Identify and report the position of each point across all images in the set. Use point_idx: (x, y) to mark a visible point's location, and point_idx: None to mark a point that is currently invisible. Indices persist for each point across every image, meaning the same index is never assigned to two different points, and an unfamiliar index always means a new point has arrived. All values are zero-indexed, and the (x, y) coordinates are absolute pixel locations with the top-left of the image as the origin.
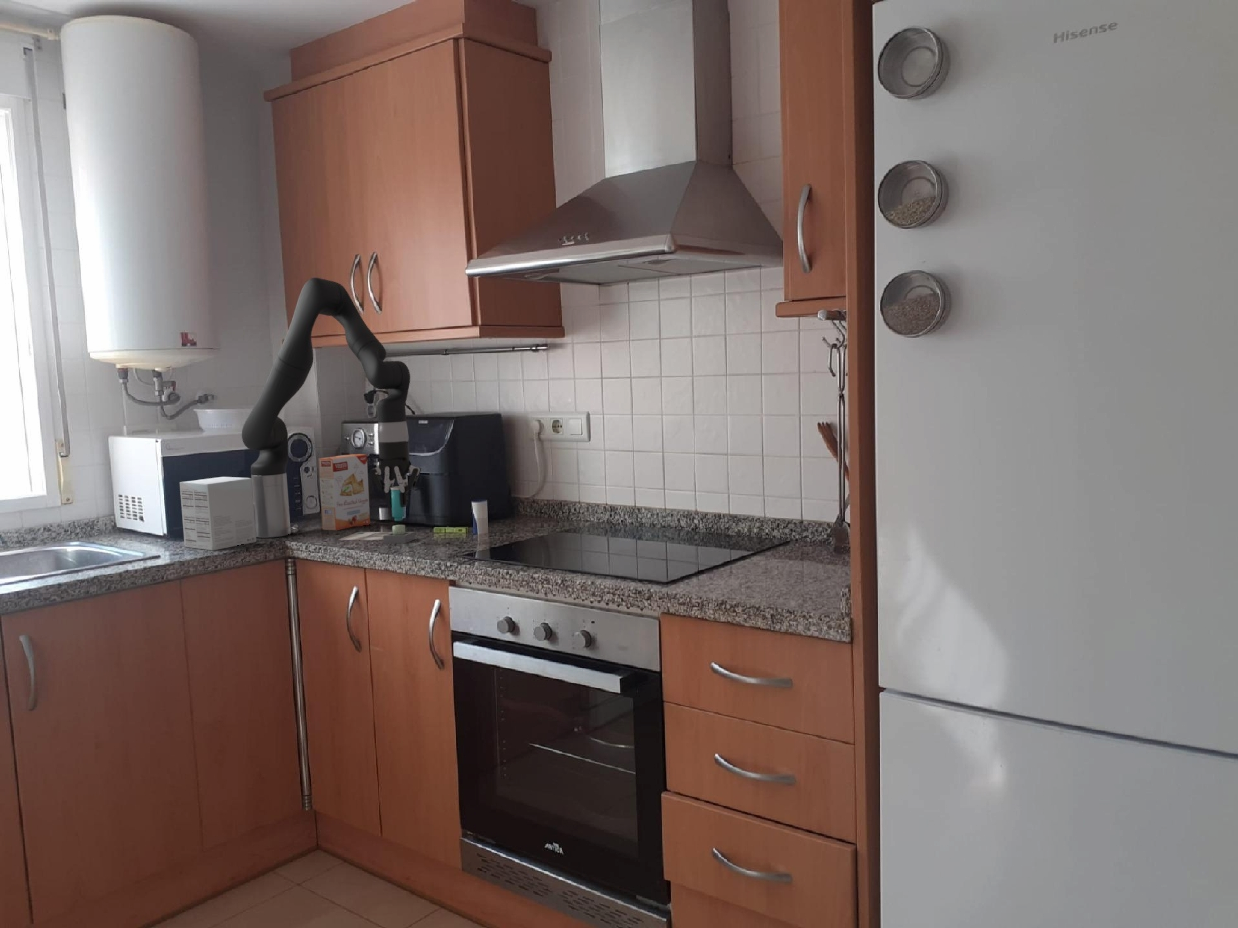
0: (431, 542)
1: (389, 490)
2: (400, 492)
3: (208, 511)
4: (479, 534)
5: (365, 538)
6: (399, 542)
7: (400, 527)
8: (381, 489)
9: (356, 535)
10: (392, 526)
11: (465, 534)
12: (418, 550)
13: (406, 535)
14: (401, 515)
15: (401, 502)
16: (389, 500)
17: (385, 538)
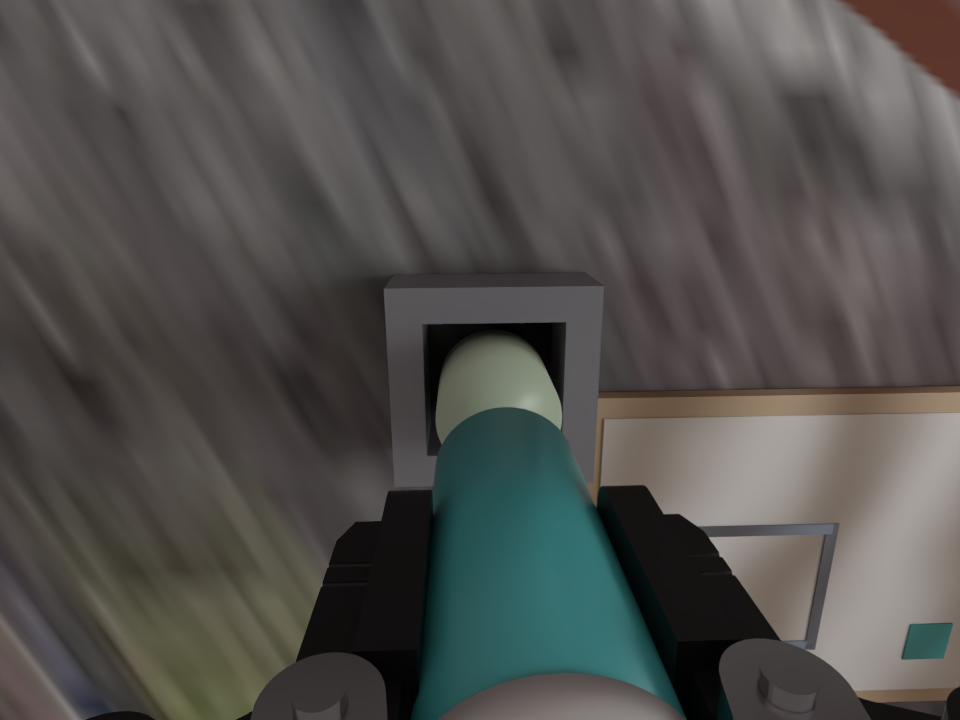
0: (247, 416)
1: (717, 716)
2: (422, 691)
3: None
4: (57, 703)
5: (822, 464)
6: (443, 277)
7: (454, 372)
8: (953, 706)
9: (934, 573)
10: (547, 382)
11: (161, 700)
12: (157, 55)
13: (386, 323)
14: (445, 448)
15: (408, 521)
16: (642, 535)
17: (575, 280)
